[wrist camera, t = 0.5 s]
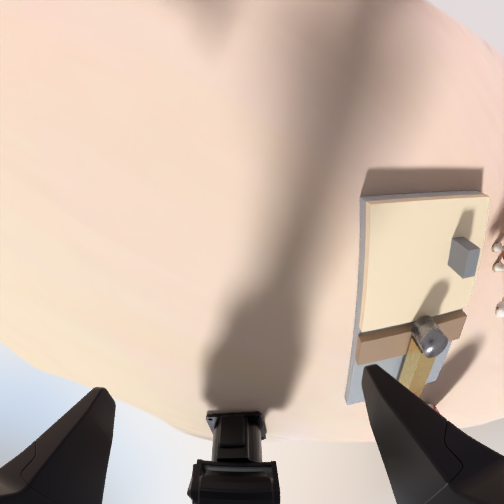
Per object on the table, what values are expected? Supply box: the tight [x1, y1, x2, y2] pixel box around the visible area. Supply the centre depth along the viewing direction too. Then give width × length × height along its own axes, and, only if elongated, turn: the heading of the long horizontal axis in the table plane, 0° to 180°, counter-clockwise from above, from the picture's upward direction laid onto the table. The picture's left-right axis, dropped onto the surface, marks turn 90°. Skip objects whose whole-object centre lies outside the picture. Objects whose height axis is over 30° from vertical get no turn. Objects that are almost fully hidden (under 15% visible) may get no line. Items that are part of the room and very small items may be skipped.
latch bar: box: [399, 315, 448, 397], centre depth 23 cm, size 12×2×3 cm, turn 7°
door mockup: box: [345, 190, 490, 405], centre depth 23 cm, size 23×12×4 cm, turn 7°
